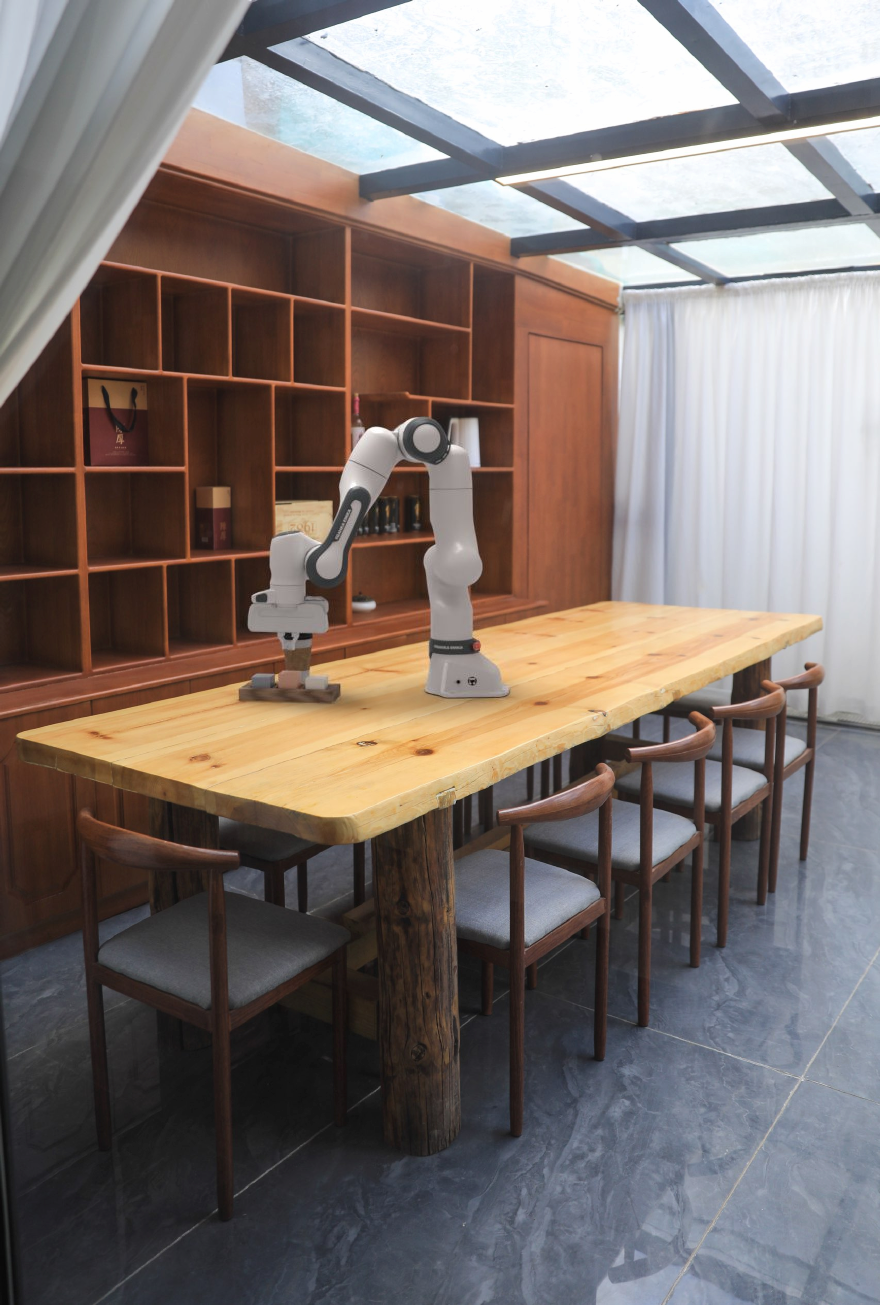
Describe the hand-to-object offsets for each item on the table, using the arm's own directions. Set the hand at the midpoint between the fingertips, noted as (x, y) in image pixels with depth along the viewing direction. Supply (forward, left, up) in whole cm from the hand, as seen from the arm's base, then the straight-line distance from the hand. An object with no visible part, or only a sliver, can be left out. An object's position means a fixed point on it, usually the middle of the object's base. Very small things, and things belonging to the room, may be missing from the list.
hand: (288, 649), depth 258 cm
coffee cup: (+3, -20, -13) cm, 24 cm away
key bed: (0, 0, -12) cm, 12 cm away
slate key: (+7, 0, -11) cm, 13 cm away
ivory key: (-7, 0, -11) cm, 13 cm away
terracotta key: (0, 0, -10) cm, 10 cm away
